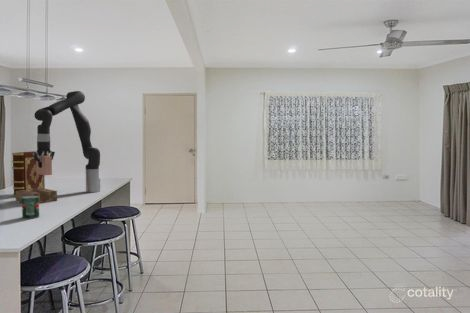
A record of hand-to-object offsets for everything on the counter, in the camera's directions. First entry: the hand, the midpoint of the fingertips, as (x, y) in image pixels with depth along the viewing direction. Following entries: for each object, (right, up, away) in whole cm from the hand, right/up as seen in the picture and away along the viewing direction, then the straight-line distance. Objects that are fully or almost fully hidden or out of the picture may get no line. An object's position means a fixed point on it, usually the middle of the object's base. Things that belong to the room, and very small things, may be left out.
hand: (43, 167), depth 231 cm
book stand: (-5, -22, +1) cm, 22 cm away
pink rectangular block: (0, -5, 0) cm, 5 cm away
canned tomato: (+16, -25, -42) cm, 51 cm away
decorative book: (-23, -20, +24) cm, 39 cm away
